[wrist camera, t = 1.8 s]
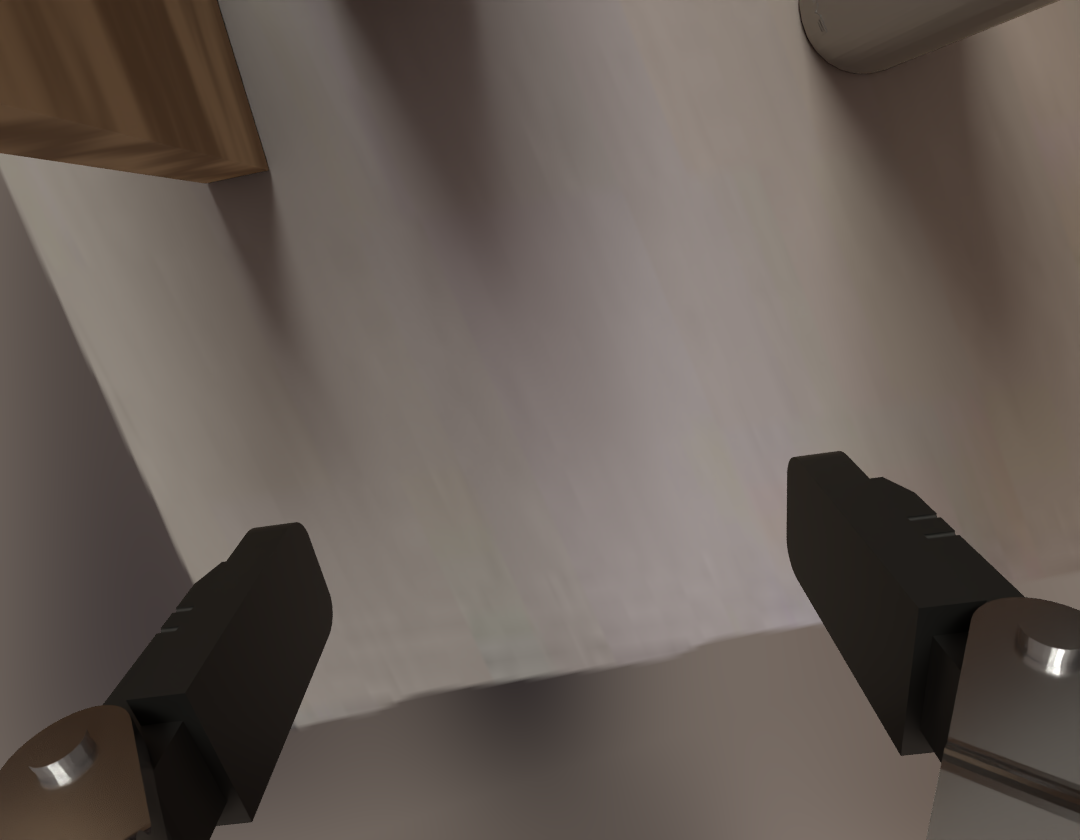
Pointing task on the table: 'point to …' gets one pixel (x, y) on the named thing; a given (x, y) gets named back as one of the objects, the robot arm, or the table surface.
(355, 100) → the table surface
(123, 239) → the table surface
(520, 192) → the table surface
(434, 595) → the table surface
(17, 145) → the stand
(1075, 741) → the robot arm
